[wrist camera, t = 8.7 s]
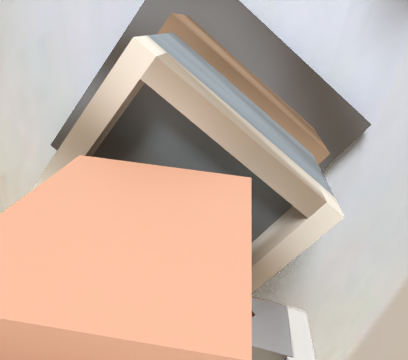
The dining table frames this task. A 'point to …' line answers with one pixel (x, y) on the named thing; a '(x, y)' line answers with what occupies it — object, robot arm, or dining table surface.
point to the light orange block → (128, 265)
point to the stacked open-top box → (220, 117)
